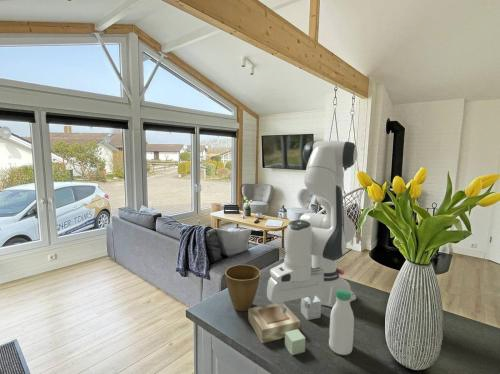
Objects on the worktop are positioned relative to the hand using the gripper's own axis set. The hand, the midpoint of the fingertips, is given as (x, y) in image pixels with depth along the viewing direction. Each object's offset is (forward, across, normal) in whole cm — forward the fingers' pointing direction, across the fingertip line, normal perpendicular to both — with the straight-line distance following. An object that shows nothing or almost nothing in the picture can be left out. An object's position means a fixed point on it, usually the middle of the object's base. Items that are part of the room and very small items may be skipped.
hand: (295, 310), depth 91 cm
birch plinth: (+14, +2, -13) cm, 19 cm away
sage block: (+14, 0, 0) cm, 14 cm away
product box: (+14, -16, -15) cm, 27 cm away
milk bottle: (+14, -16, +5) cm, 21 cm away
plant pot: (+14, +8, -30) cm, 34 cm away
